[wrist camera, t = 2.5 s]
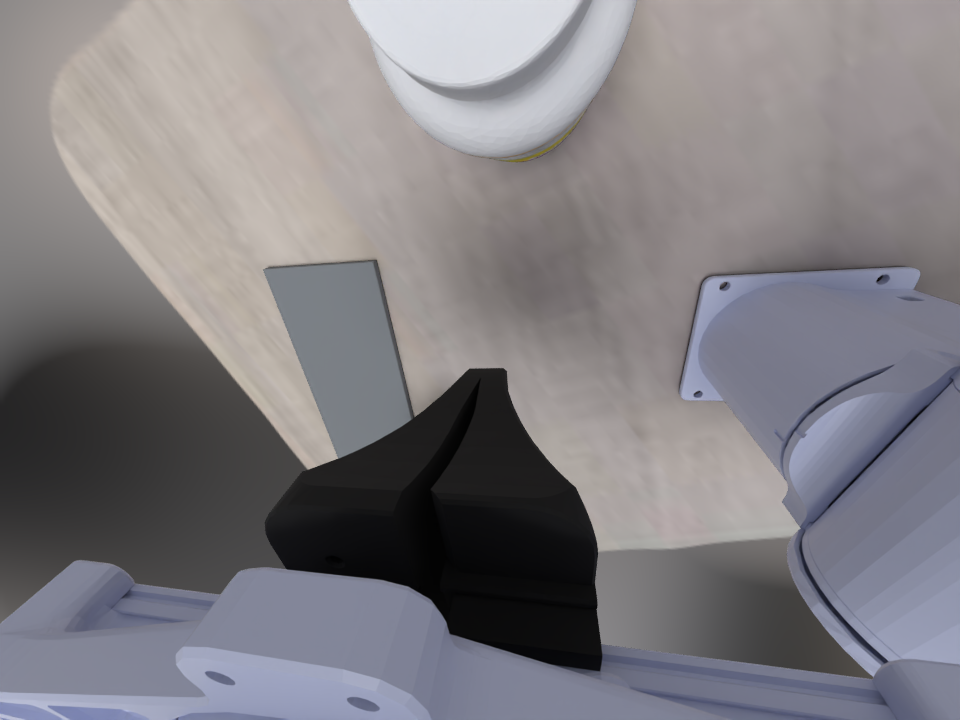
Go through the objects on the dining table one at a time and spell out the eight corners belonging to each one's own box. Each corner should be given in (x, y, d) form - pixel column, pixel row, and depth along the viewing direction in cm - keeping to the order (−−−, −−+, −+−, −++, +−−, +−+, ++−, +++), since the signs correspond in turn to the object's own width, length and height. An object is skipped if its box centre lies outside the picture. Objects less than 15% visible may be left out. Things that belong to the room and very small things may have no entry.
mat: (376, 260, 21) (372, 261, 21) (429, 482, 31) (427, 487, 30) (268, 267, 23) (262, 269, 23) (350, 477, 32) (347, 481, 32)
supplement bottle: (460, -28, 15) (187, -662, 3) (615, -8, 14) (870, -680, 3) (446, 152, 18) (283, 121, 7) (570, 173, 17) (611, 176, 6)
